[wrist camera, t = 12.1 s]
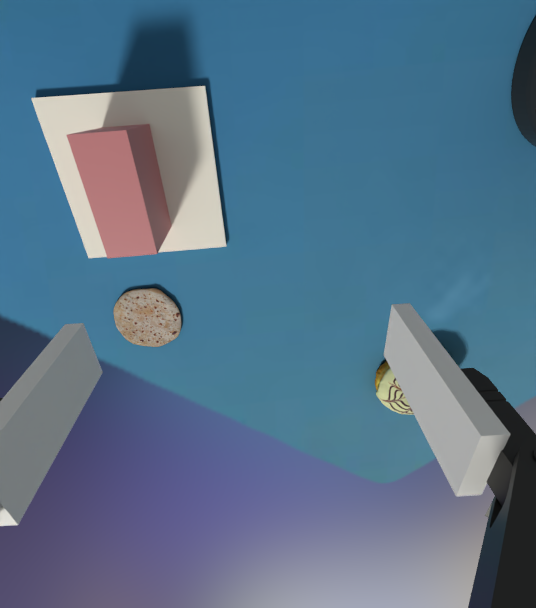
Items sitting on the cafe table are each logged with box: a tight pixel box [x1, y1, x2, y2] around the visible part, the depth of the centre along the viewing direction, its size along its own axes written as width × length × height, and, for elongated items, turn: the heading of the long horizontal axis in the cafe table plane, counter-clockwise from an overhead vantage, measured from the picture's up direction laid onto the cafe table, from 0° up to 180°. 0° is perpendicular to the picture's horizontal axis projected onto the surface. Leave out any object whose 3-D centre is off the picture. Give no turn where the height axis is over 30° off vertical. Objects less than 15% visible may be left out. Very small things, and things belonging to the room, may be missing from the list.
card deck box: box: [67, 124, 172, 258], centre depth 28 cm, size 9×4×7 cm, turn 4°
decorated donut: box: [375, 361, 414, 414], centre depth 46 cm, size 10×11×4 cm
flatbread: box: [114, 288, 181, 347], centre depth 39 cm, size 8×8×1 cm
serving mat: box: [31, 86, 226, 258], centre depth 32 cm, size 14×14×1 cm
